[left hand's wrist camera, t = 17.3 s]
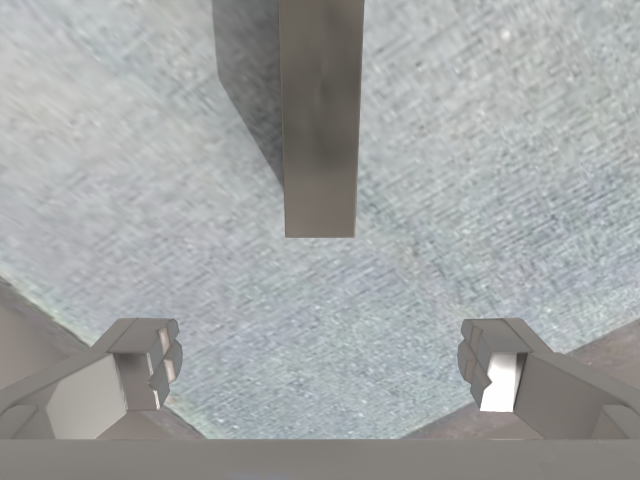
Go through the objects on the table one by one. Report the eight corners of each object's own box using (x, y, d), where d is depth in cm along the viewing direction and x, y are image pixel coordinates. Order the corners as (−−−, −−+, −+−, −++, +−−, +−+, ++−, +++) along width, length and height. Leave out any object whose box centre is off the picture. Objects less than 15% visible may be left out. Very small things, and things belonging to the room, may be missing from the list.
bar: (346, 207, 38) (354, 238, 29) (293, 206, 38) (285, 237, 29) (355, -74, 29) (370, -150, 21) (287, -75, 29) (273, -151, 21)
